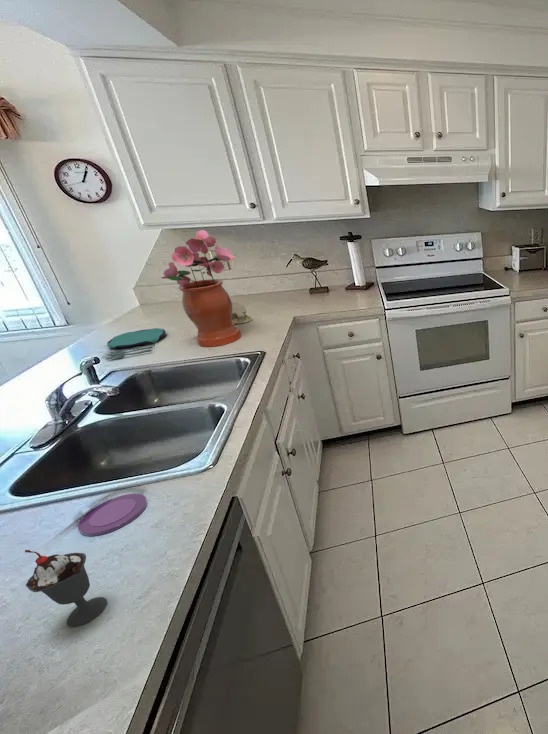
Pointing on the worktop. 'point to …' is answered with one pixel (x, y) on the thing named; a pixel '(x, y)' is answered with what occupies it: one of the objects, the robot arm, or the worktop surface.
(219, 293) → the potted flower
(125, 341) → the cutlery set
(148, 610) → the worktop surface
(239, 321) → the ceramic model
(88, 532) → the plum plate
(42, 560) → the sundae
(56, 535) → the worktop surface
